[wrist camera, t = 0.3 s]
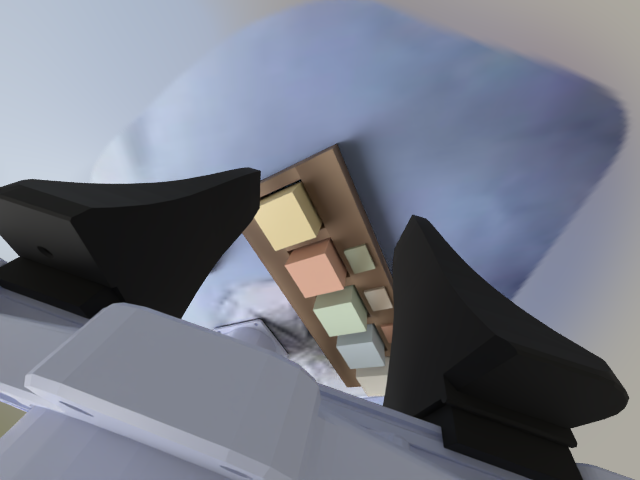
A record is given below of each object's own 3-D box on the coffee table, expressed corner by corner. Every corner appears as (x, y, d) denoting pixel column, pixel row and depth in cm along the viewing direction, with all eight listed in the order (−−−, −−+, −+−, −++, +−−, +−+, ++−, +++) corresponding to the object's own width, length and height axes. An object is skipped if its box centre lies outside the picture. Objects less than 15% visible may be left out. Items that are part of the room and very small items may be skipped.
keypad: (348, 369, 34) (346, 389, 32) (235, 193, 23) (219, 203, 21) (427, 362, 30) (432, 384, 28) (336, 143, 19) (331, 149, 16)
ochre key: (285, 235, 22) (275, 251, 20) (263, 198, 21) (249, 210, 18) (322, 221, 21) (316, 237, 18) (301, 180, 19) (292, 192, 17)
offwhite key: (368, 373, 31) (367, 396, 29) (357, 355, 29) (355, 377, 27) (398, 371, 29) (400, 395, 27) (388, 351, 28) (390, 374, 25)
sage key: (333, 315, 27) (329, 336, 24) (318, 290, 25) (312, 309, 23) (367, 309, 25) (366, 331, 23) (353, 282, 24) (351, 302, 21)
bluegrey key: (352, 347, 29) (350, 369, 26) (339, 325, 27) (336, 346, 25) (384, 343, 27) (385, 366, 25) (372, 319, 26) (372, 341, 23)
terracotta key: (311, 279, 24) (305, 298, 22) (293, 248, 23) (284, 265, 20) (347, 269, 23) (344, 289, 21) (330, 236, 21) (325, 253, 19)
